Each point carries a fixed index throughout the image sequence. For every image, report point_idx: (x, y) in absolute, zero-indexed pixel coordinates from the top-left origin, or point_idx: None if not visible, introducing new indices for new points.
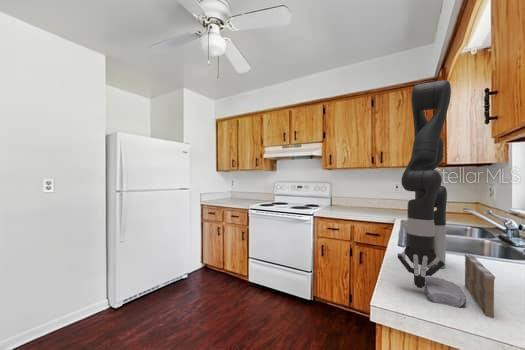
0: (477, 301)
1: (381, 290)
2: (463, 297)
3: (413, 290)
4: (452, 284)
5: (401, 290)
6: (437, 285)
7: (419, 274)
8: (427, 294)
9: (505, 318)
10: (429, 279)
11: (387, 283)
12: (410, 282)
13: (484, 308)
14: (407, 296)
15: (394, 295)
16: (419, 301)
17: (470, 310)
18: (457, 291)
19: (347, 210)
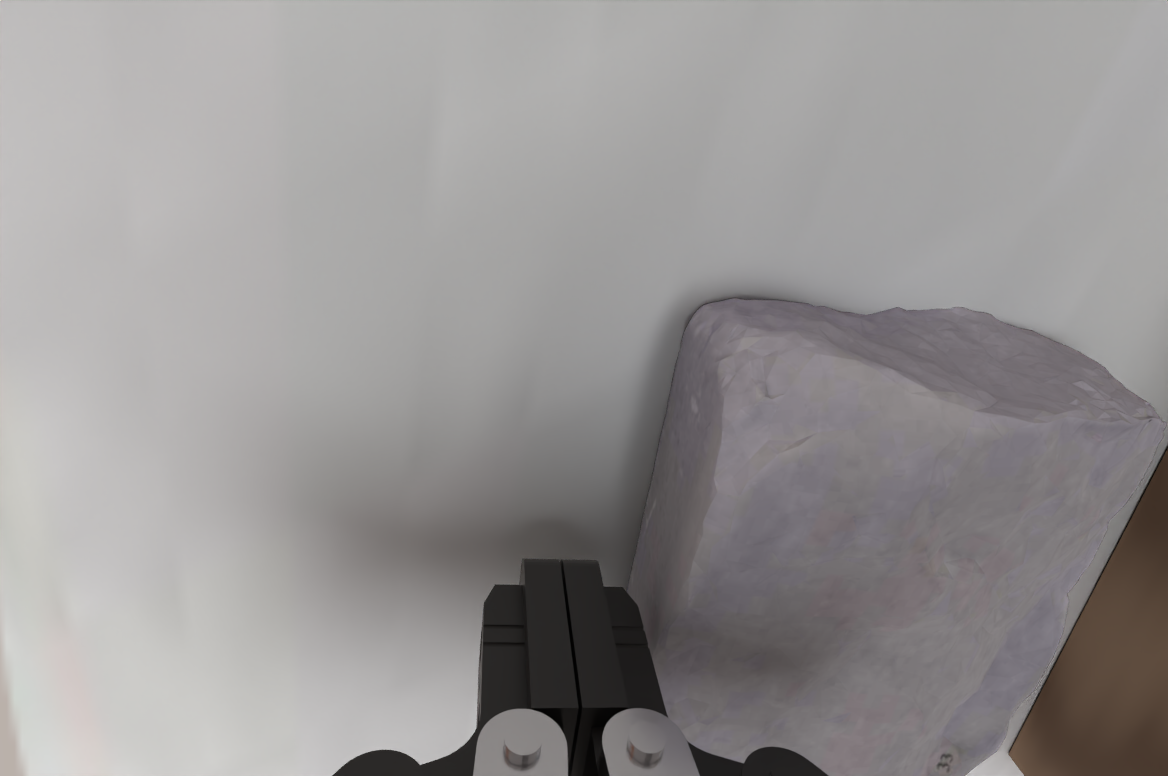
0: (1131, 575)
1: (63, 712)
2: (980, 741)
3: (478, 534)
4: (1077, 501)
5: (317, 603)
6: (802, 663)
7: (580, 726)
8: None
9: None
10: (757, 552)
11: (92, 462)
12: (474, 239)
13: (1060, 770)
14: (385, 717)
15: (238, 758)
16: None
17: None
18: (1016, 613)
19: None
